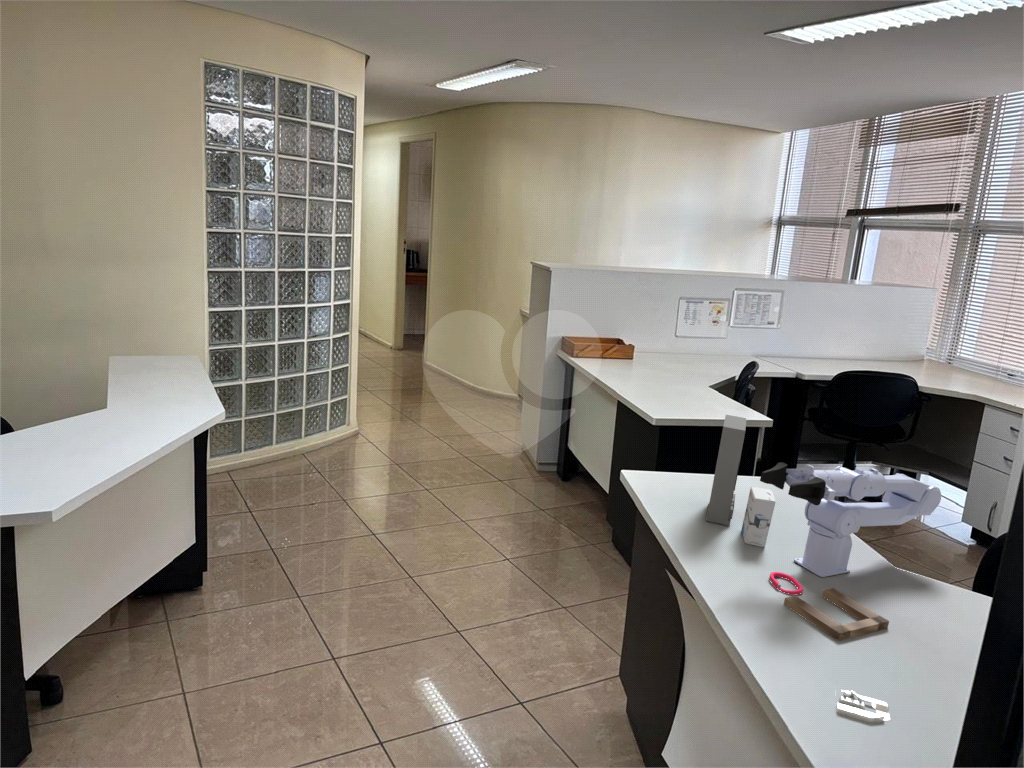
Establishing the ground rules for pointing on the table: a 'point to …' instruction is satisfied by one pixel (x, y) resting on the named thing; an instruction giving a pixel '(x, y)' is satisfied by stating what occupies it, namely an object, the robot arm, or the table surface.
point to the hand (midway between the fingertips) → (776, 483)
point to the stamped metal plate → (861, 714)
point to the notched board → (832, 627)
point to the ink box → (758, 516)
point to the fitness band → (779, 574)
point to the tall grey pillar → (726, 471)
